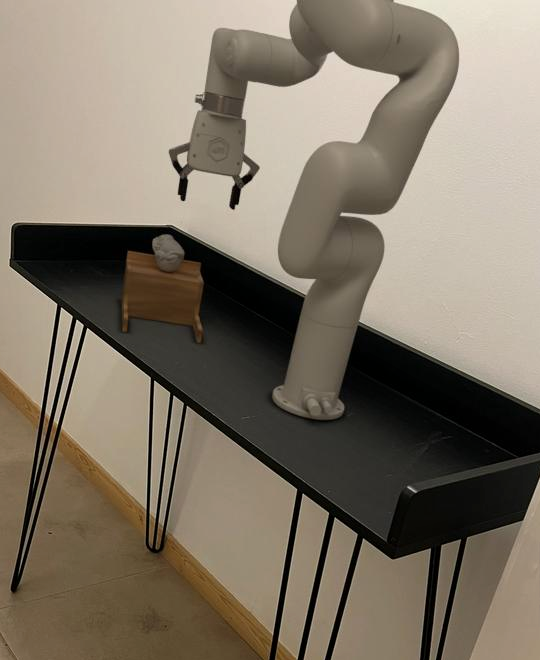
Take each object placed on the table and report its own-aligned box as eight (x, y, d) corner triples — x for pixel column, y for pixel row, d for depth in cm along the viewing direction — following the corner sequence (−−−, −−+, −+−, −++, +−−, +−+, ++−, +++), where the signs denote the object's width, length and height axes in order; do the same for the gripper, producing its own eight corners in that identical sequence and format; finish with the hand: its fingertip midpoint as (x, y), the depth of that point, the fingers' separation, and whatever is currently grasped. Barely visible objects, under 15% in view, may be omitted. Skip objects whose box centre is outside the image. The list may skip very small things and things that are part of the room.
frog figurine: (158, 264, 173) (163, 229, 170) (187, 273, 171) (193, 239, 168) (142, 268, 168) (147, 232, 165) (172, 277, 166) (178, 242, 163)
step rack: (200, 343, 163) (210, 289, 158) (122, 331, 160) (129, 277, 155) (192, 311, 180) (200, 262, 175) (121, 300, 177) (127, 250, 172)
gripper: (177, 99, 148) (163, 200, 156) (272, 117, 152) (254, 215, 160) (174, 96, 154) (161, 193, 163) (265, 113, 158) (248, 208, 166)
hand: (207, 204), depth 161 cm, fingers open, 9 cm apart
